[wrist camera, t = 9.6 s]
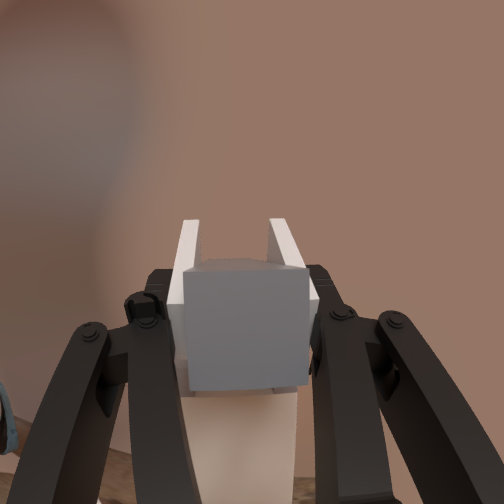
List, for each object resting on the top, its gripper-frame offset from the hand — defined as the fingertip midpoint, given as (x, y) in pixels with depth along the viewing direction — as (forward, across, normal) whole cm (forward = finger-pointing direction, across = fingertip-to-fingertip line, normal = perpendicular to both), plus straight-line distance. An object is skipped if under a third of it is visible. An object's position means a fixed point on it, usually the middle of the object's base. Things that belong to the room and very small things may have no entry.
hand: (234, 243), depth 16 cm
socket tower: (-13, 0, -40) cm, 42 cm away
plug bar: (0, 0, -5) cm, 5 cm away
